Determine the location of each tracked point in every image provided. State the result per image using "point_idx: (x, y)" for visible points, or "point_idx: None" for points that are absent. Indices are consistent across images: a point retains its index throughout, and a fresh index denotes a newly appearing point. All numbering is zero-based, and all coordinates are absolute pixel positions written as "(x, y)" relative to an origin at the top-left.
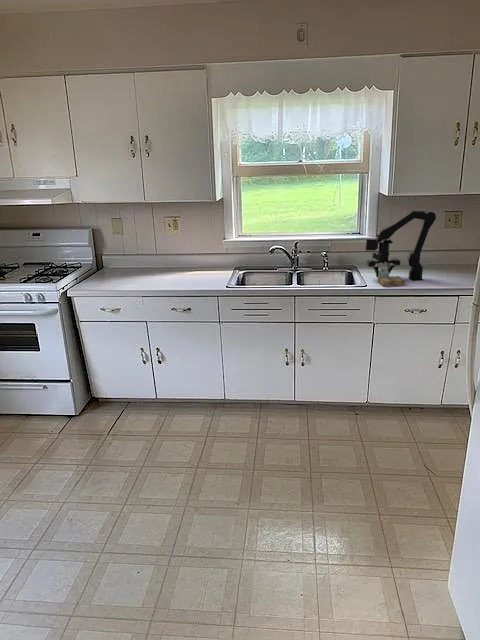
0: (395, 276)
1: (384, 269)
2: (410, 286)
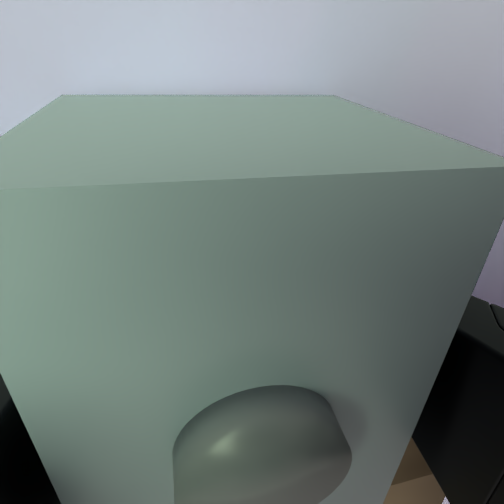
0: (402, 486)
1: (330, 486)
2: None
